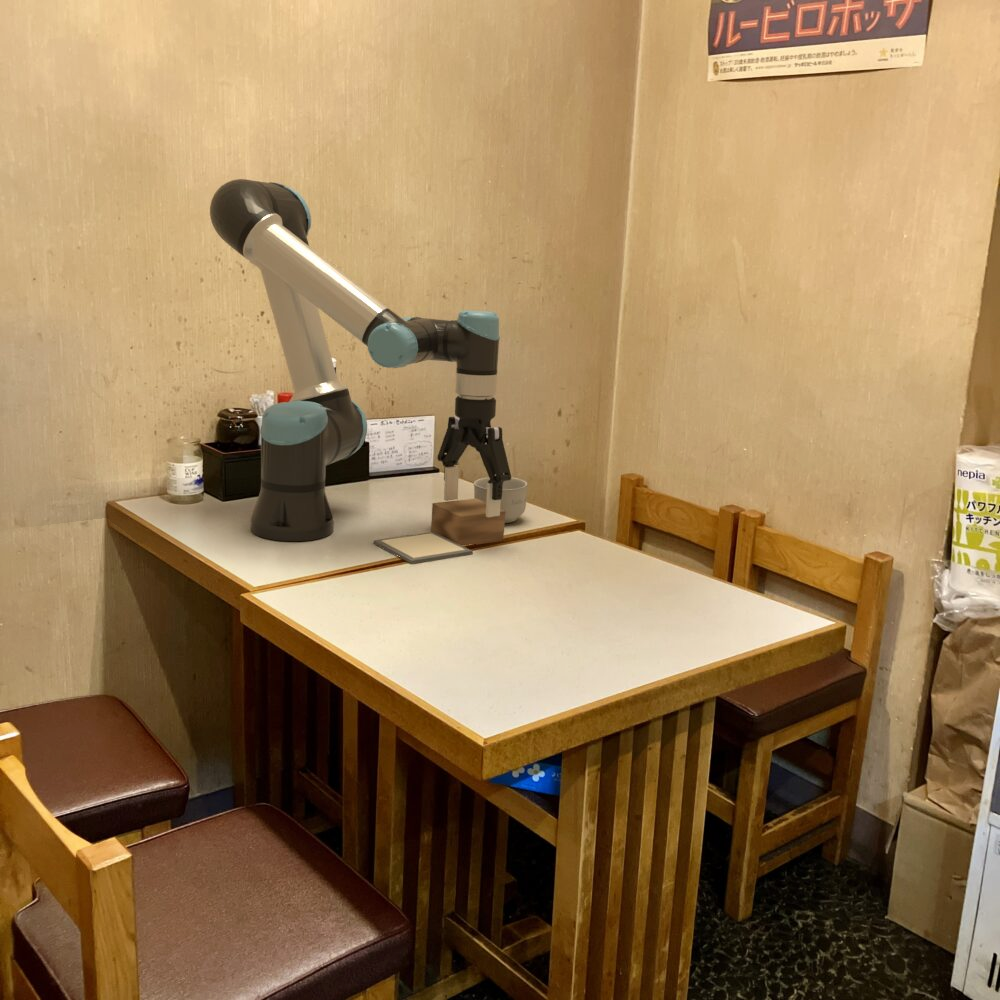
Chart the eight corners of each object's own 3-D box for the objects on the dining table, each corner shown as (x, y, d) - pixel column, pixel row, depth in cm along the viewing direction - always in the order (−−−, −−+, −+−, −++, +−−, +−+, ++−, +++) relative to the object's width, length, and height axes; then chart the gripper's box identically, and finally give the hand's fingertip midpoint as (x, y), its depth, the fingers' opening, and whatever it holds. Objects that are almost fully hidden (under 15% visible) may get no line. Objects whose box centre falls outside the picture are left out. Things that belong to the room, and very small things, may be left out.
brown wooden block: (430, 533, 192) (432, 503, 190) (474, 527, 197) (476, 498, 196) (458, 547, 184) (460, 516, 182) (503, 541, 189) (505, 511, 188)
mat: (373, 543, 182) (373, 539, 182) (432, 534, 190) (432, 531, 190) (411, 564, 172) (411, 560, 172) (472, 554, 180) (472, 550, 180)
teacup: (519, 529, 197) (522, 490, 195) (466, 523, 199) (468, 484, 197) (531, 512, 211) (534, 475, 209) (481, 506, 213) (483, 469, 211)
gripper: (534, 405, 176) (528, 520, 182) (454, 385, 195) (450, 491, 201) (500, 407, 172) (495, 526, 177) (421, 387, 191) (418, 495, 196)
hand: (471, 507), depth 189 cm, fingers open, 13 cm apart
